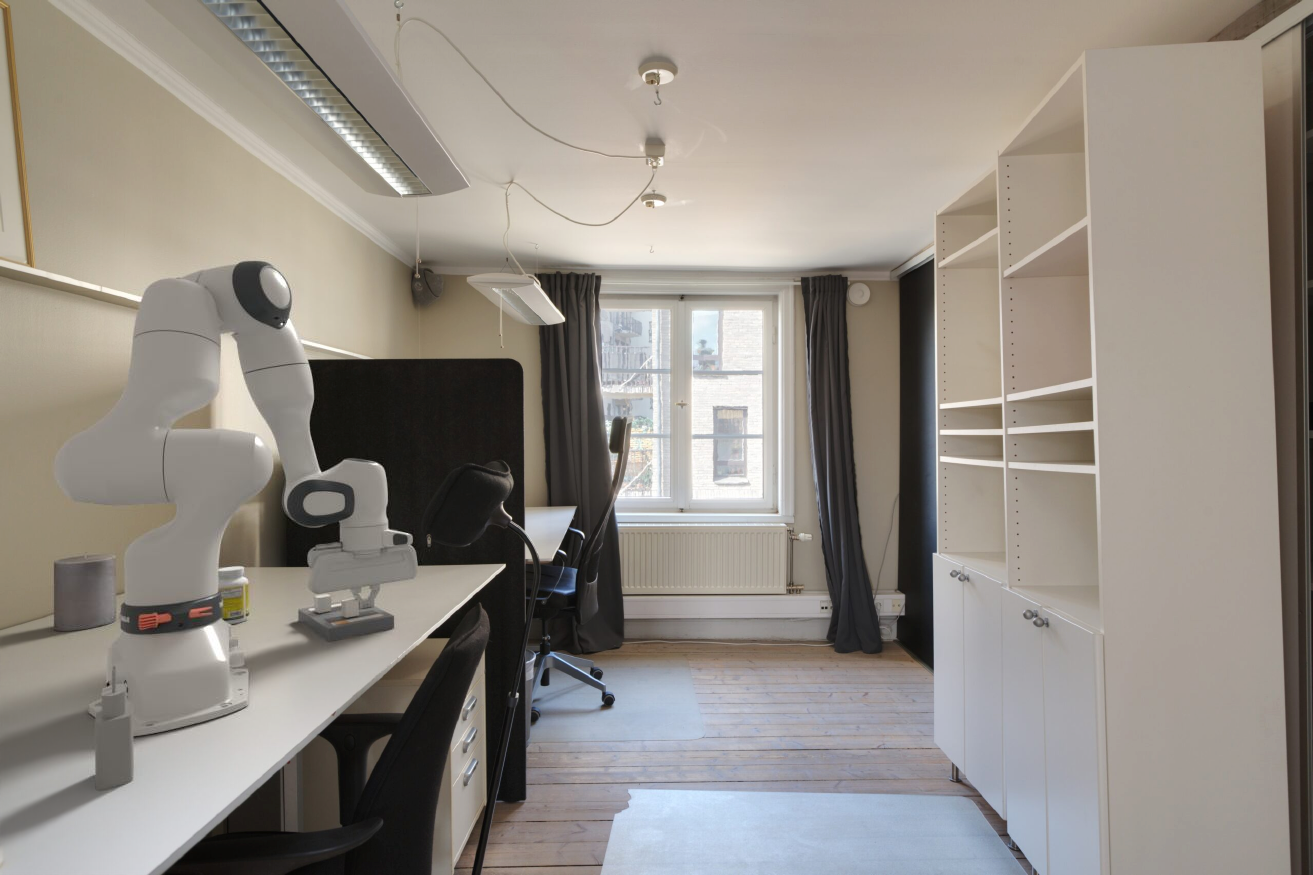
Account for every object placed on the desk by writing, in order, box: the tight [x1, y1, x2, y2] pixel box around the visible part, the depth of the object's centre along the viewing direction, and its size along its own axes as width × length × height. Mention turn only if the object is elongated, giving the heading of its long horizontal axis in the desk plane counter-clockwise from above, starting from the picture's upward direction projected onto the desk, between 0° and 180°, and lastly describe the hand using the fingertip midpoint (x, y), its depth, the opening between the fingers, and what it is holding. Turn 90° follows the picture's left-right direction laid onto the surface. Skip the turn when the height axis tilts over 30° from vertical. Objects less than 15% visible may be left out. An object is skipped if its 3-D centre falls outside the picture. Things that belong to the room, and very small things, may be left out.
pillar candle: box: [53, 551, 117, 632], centre depth 132 cm, size 10×10×15 cm
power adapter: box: [94, 666, 135, 791], centre depth 71 cm, size 3×5×12 cm, turn 39°
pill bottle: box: [218, 565, 250, 625], centre depth 133 cm, size 6×6×11 cm
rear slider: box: [313, 593, 332, 613], centre depth 130 cm, size 3×2×3 cm
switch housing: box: [297, 601, 395, 642], centre depth 129 cm, size 20×12×2 cm, turn 43°
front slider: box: [340, 597, 359, 618], centre depth 126 cm, size 3×2×3 cm
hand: (365, 608), depth 128 cm, fingers closed
